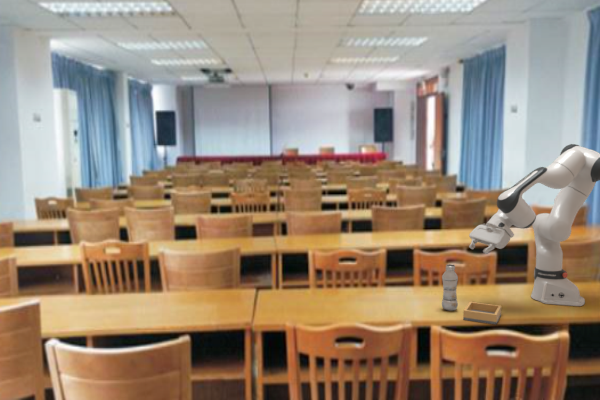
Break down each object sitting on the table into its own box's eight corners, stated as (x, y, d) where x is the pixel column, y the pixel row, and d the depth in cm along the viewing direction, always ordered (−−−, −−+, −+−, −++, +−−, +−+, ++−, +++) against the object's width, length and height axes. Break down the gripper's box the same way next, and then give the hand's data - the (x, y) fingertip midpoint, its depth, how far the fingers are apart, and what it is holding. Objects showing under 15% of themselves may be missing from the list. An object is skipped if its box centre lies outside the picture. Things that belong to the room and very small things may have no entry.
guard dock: (501, 314, 233) (501, 305, 233) (496, 324, 222) (496, 314, 221) (469, 310, 239) (469, 301, 239) (463, 319, 228) (463, 310, 227)
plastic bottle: (458, 312, 236) (459, 267, 234) (441, 311, 238) (442, 266, 235) (456, 308, 243) (458, 263, 240) (441, 307, 244) (442, 263, 242)
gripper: (478, 218, 250) (459, 241, 248) (509, 226, 231) (488, 250, 229) (485, 227, 252) (466, 250, 250) (517, 235, 233) (497, 260, 231)
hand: (477, 250), depth 239 cm, fingers open, 8 cm apart
